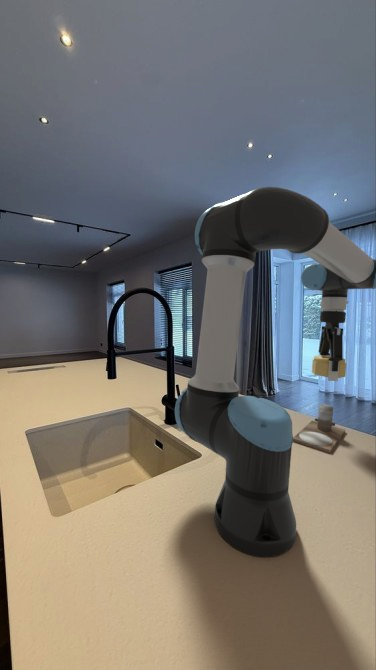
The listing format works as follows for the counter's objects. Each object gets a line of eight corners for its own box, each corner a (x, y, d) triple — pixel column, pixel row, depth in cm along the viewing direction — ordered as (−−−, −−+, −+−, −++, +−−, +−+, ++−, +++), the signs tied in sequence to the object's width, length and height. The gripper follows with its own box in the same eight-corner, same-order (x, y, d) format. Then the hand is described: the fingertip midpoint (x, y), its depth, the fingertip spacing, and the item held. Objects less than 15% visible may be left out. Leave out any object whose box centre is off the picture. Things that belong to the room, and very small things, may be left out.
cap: (317, 376, 91) (318, 357, 90) (309, 370, 100) (311, 353, 100) (348, 378, 89) (350, 359, 89) (338, 372, 99) (339, 355, 98)
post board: (330, 453, 82) (332, 423, 81) (292, 441, 89) (294, 413, 88) (345, 432, 97) (347, 406, 97) (311, 423, 104) (313, 399, 104)
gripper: (359, 310, 81) (352, 386, 83) (334, 311, 103) (329, 371, 105) (331, 310, 83) (325, 384, 85) (312, 310, 104) (308, 370, 106)
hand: (327, 377), depth 95 cm, fingers closed on cap, 9 cm apart
